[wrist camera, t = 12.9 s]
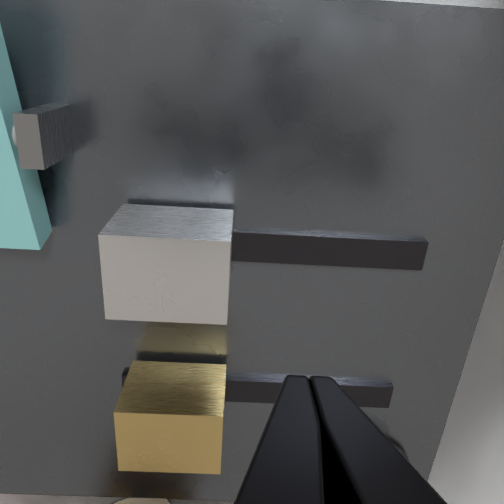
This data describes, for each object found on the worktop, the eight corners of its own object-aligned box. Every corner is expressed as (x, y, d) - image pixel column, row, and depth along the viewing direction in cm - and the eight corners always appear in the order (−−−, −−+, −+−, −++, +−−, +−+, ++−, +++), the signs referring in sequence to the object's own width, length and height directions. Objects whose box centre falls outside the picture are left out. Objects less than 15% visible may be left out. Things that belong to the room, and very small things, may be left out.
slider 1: (233, 209, 16) (230, 241, 14) (230, 282, 18) (226, 324, 15) (123, 203, 16) (97, 235, 14) (127, 277, 17) (105, 319, 15)
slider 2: (226, 364, 19) (223, 416, 17) (223, 417, 20) (220, 474, 18) (132, 360, 19) (113, 412, 16) (135, 414, 20) (118, 470, 18)
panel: (545, 17, 16) (639, 7, 12) (409, 481, 25) (438, 558, 21) (-105, -29, 15) (-223, -56, 11) (7, 468, 24) (-36, 544, 20)
